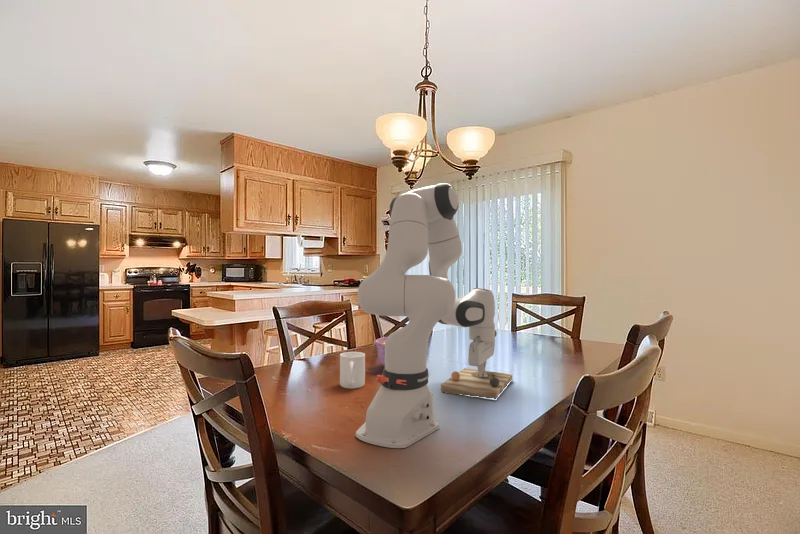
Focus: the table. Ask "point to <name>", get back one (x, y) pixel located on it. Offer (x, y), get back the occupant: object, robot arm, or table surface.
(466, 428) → the table surface
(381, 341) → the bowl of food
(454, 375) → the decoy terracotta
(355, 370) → the mug
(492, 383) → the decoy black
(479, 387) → the board
